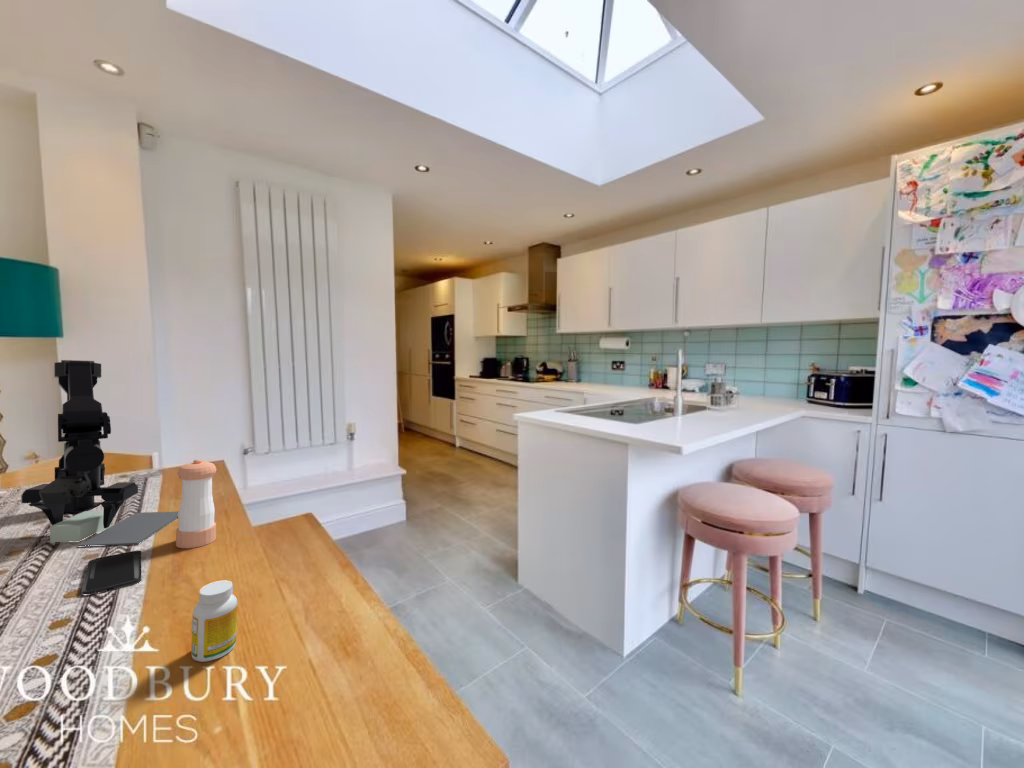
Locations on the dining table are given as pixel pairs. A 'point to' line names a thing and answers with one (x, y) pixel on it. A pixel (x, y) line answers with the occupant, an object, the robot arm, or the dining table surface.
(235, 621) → the supplement bottle
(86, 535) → the card case
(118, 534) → the rubber mat
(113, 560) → the phone
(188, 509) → the pepper shaker
